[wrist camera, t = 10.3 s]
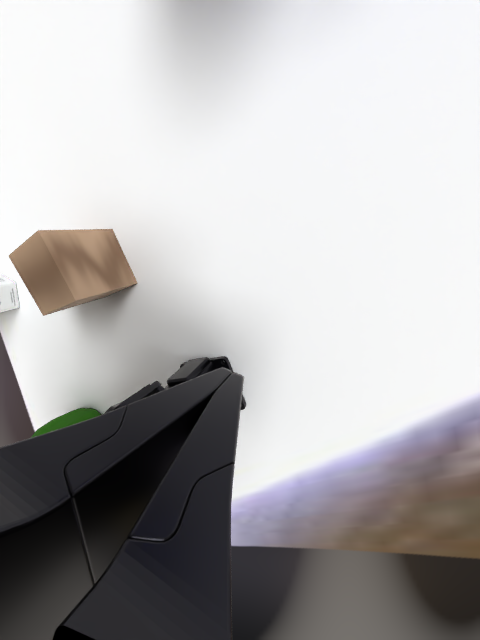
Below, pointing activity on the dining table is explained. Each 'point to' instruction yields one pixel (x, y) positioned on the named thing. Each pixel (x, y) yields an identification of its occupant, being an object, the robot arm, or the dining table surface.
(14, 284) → the ink box
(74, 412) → the bell pepper
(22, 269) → the walnut block
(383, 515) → the dining table surface
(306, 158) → the dining table surface
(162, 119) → the dining table surface
